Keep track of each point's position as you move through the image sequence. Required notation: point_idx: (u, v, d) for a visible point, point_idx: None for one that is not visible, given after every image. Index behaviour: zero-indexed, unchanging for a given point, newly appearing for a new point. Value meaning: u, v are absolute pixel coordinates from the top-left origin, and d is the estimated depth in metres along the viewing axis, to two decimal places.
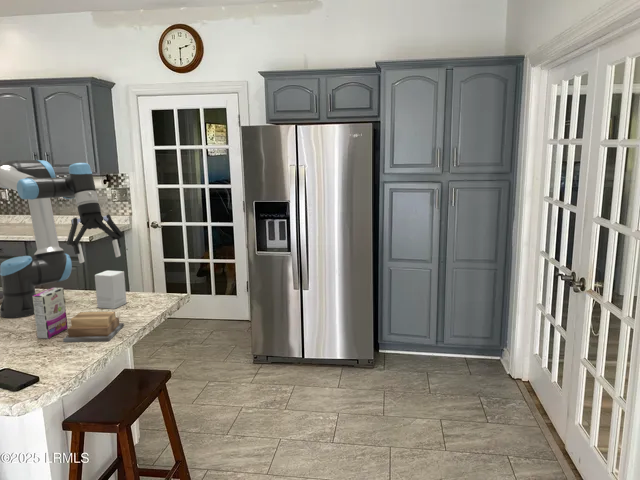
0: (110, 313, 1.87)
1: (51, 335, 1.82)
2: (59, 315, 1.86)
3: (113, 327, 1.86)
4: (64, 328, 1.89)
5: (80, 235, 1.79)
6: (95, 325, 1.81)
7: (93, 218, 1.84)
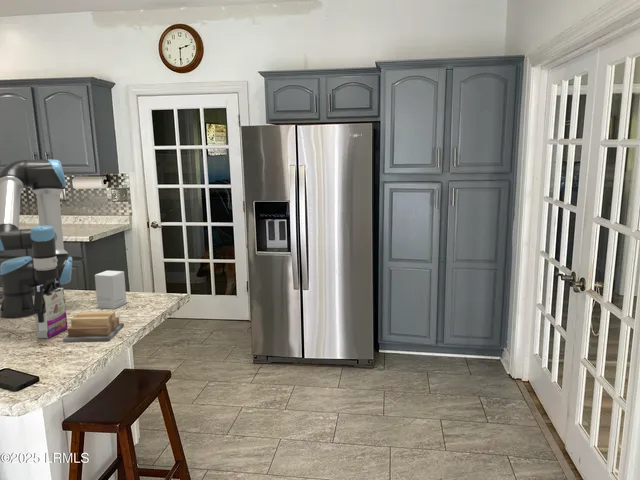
0: (110, 313, 1.87)
1: (51, 335, 1.82)
2: (59, 315, 1.86)
3: (113, 327, 1.86)
4: (64, 328, 1.89)
5: None
6: (95, 325, 1.81)
7: (50, 282, 1.83)
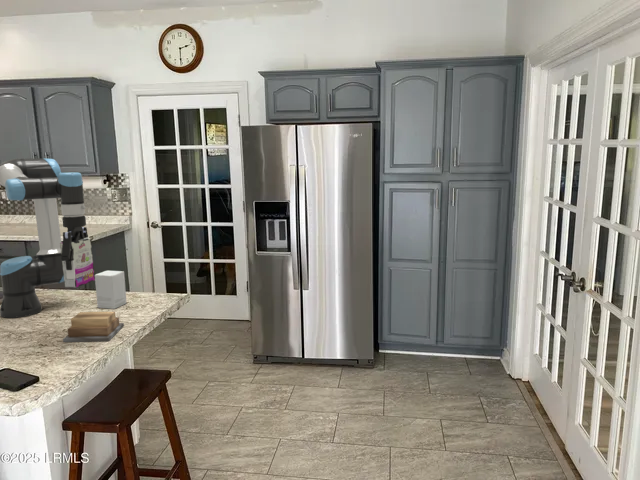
0: (110, 313, 1.87)
1: (79, 284, 1.78)
2: (86, 265, 1.82)
3: (113, 327, 1.86)
4: (91, 279, 1.85)
5: (73, 250, 1.75)
6: (95, 325, 1.81)
7: (78, 230, 1.79)
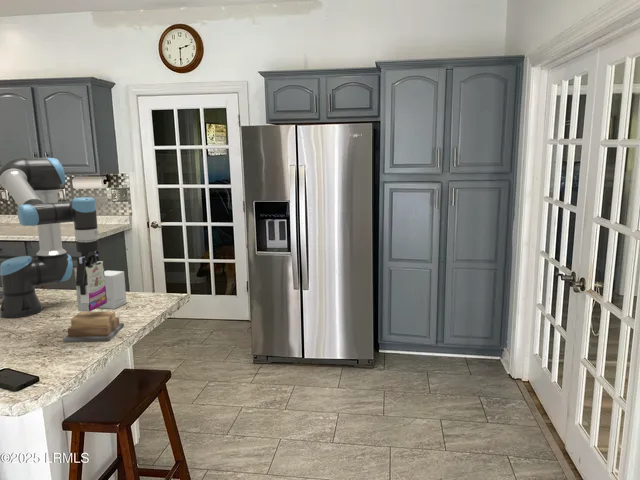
0: (110, 313, 1.87)
1: (92, 308, 1.80)
2: (99, 289, 1.84)
3: (113, 327, 1.86)
4: (104, 302, 1.87)
5: None
6: (95, 325, 1.81)
7: (91, 255, 1.81)
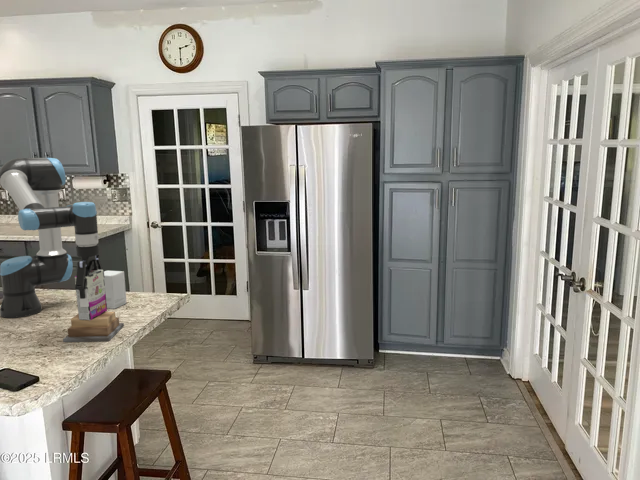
0: (110, 313, 1.87)
1: (93, 317, 1.80)
2: (100, 297, 1.84)
3: (113, 327, 1.86)
4: (104, 310, 1.87)
5: None
6: (95, 325, 1.81)
7: (92, 260, 1.81)
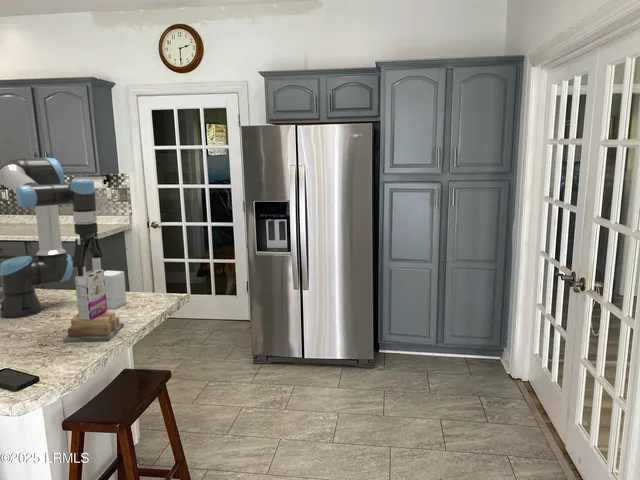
0: (110, 313, 1.87)
1: (93, 317, 1.80)
2: (100, 297, 1.84)
3: (113, 327, 1.86)
4: (104, 310, 1.87)
5: (84, 257, 1.75)
6: (95, 325, 1.81)
7: (90, 238, 1.80)
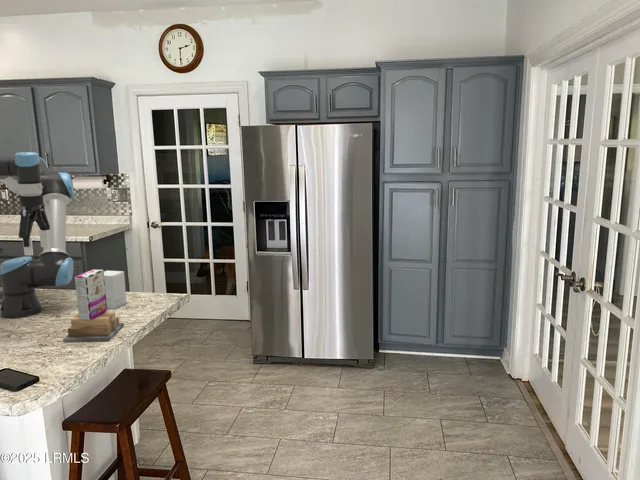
0: (110, 313, 1.87)
1: (93, 317, 1.80)
2: (100, 297, 1.84)
3: (113, 327, 1.86)
4: (104, 310, 1.87)
5: (30, 228, 1.79)
6: (95, 325, 1.81)
7: (36, 210, 1.84)
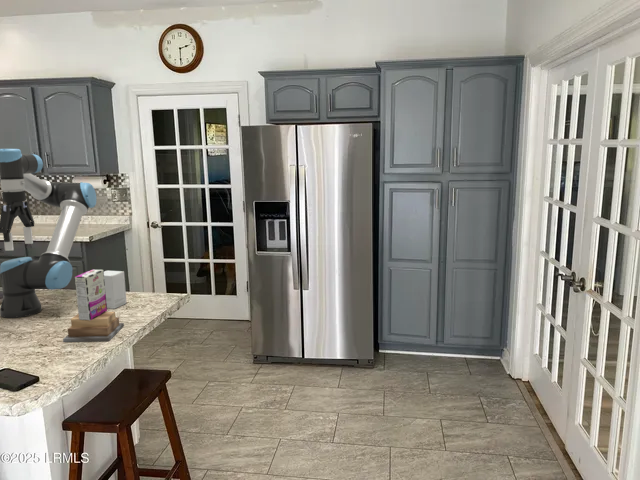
0: (110, 313, 1.87)
1: (93, 317, 1.80)
2: (100, 297, 1.84)
3: (113, 327, 1.86)
4: (104, 310, 1.87)
5: (11, 223, 1.80)
6: (95, 325, 1.81)
7: (18, 206, 1.85)
